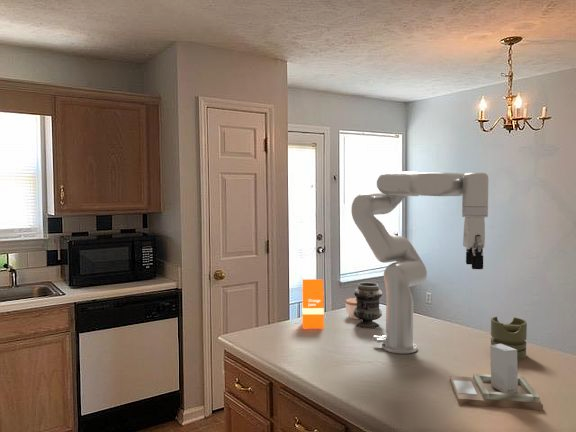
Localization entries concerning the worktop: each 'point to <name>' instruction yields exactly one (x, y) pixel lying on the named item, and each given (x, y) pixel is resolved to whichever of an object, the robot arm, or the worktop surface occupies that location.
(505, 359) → the skincare box
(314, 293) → the orange juice
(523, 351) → the piston
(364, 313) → the dark stone vase
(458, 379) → the framed base plate
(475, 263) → the robot arm
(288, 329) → the worktop surface
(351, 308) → the lidded jar
